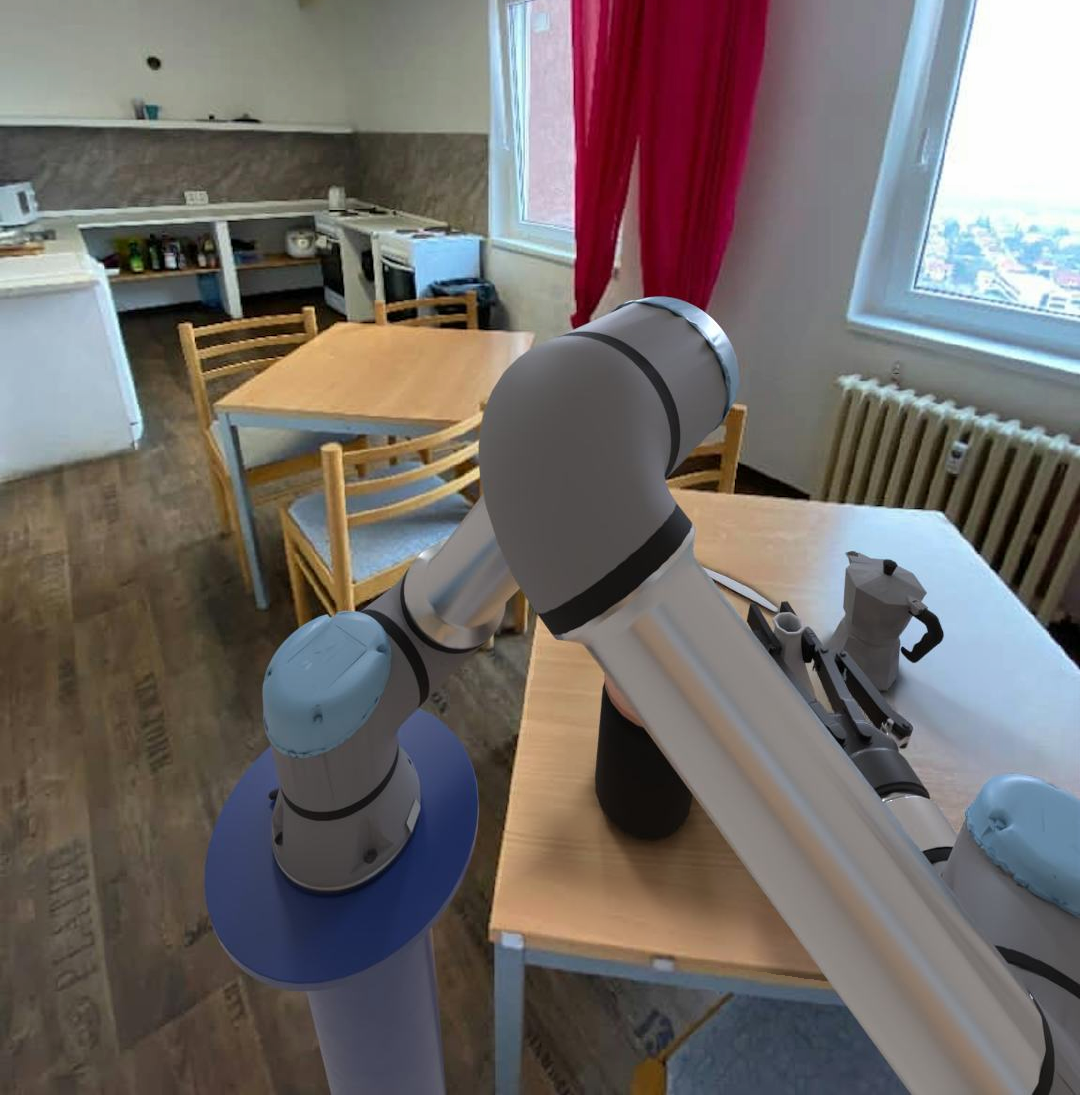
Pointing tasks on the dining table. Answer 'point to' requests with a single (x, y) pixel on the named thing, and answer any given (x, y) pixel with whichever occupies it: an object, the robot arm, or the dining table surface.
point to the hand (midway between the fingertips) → (767, 611)
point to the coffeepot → (882, 618)
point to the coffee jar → (636, 775)
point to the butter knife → (741, 589)
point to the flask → (792, 646)
